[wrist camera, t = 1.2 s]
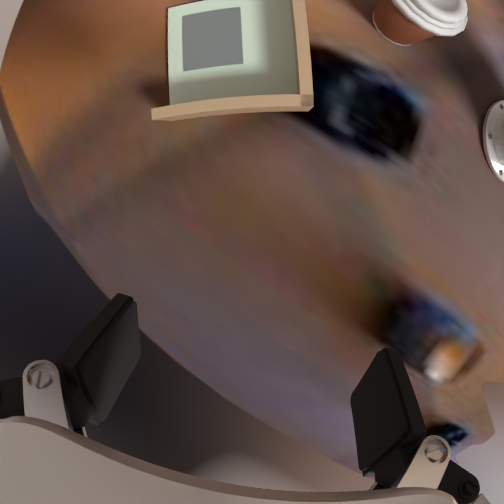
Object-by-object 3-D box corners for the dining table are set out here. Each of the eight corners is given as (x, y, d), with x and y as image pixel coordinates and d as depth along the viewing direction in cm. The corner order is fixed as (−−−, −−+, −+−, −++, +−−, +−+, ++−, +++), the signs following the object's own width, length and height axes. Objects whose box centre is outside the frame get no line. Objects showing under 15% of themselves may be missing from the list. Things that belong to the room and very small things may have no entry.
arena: (298, -5, 23) (300, -28, 17) (308, 111, 29) (313, 106, 23) (170, 10, 25) (151, -7, 19) (173, 120, 31) (151, 119, 25)
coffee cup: (402, -9, 20) (439, -46, 9) (439, 48, 22) (490, 27, 11) (347, 4, 22) (371, -43, 11) (387, 63, 25) (431, 37, 14)
